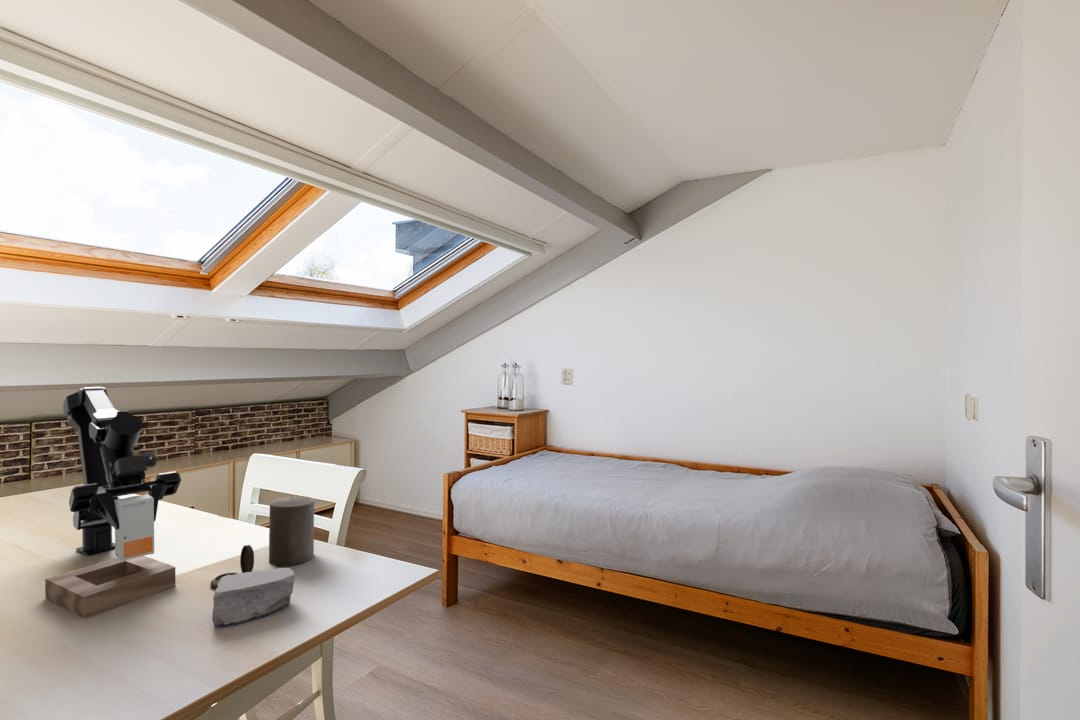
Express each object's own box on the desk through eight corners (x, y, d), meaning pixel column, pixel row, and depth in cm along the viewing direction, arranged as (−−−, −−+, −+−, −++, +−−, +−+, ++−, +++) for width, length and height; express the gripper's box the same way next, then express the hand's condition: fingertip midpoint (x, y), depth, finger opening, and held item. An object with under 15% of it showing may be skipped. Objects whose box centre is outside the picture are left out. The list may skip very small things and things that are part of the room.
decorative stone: (198, 620, 104) (220, 636, 98) (198, 582, 104) (220, 596, 98) (278, 593, 115) (302, 607, 109) (277, 560, 115) (301, 571, 109)
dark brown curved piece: (206, 583, 119) (205, 549, 119) (246, 573, 124) (246, 540, 124) (217, 596, 113) (217, 560, 113) (259, 584, 119) (259, 550, 118)
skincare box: (120, 562, 114) (118, 503, 113) (115, 556, 116) (113, 499, 116) (155, 553, 118) (154, 497, 118) (149, 548, 121) (147, 493, 120)
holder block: (45, 598, 111) (45, 578, 111) (135, 570, 125) (135, 552, 125) (84, 618, 104) (83, 596, 103) (175, 585, 118) (175, 566, 117)
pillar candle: (276, 570, 126) (276, 503, 126) (263, 557, 133) (264, 494, 133) (320, 559, 132) (320, 496, 132) (305, 548, 140) (306, 488, 139)
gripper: (71, 446, 112) (85, 513, 105) (177, 435, 126) (196, 493, 119) (63, 479, 117) (76, 544, 110) (166, 464, 131) (183, 521, 125)
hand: (136, 524), depth 116 cm, fingers closed on skincare box, 6 cm apart
